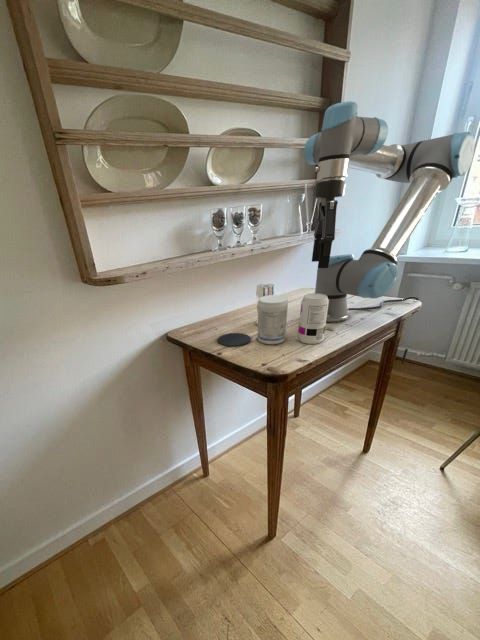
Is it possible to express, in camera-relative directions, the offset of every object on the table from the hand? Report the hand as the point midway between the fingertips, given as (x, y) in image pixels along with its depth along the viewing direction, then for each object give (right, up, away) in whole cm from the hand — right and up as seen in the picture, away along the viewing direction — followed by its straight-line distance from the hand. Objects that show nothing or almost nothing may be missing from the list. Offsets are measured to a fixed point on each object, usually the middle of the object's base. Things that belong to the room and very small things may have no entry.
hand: (319, 264), depth 91 cm
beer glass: (-9, -12, +30) cm, 34 cm away
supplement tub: (-11, -21, +15) cm, 28 cm away
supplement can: (+2, -21, +12) cm, 25 cm away
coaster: (-23, -20, +18) cm, 36 cm away
